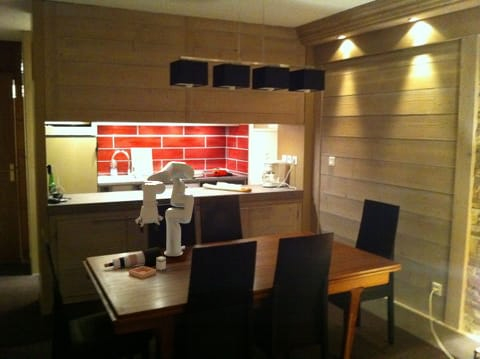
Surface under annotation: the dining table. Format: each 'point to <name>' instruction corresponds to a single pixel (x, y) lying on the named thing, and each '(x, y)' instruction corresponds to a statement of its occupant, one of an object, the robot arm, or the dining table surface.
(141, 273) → the dish
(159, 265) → the block
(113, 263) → the striped tapered cylinder
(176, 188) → the robot arm
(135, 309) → the dining table surface
